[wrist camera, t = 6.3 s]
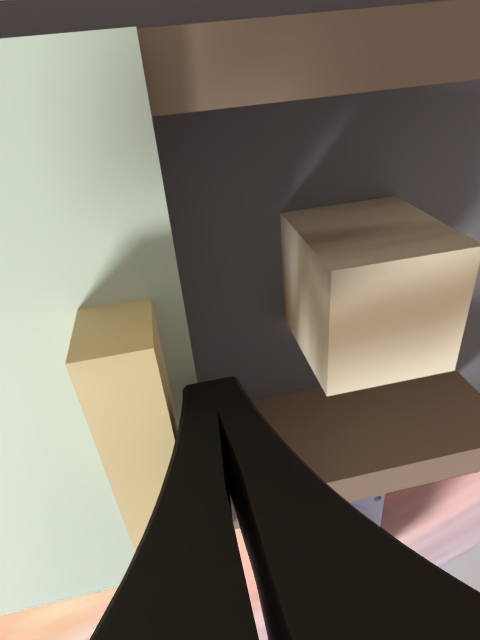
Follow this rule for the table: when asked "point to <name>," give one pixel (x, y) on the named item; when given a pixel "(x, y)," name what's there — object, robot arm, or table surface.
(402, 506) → the table surface
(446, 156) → the board
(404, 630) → the robot arm
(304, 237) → the block
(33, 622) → the table surface
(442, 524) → the table surface
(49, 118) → the lid
